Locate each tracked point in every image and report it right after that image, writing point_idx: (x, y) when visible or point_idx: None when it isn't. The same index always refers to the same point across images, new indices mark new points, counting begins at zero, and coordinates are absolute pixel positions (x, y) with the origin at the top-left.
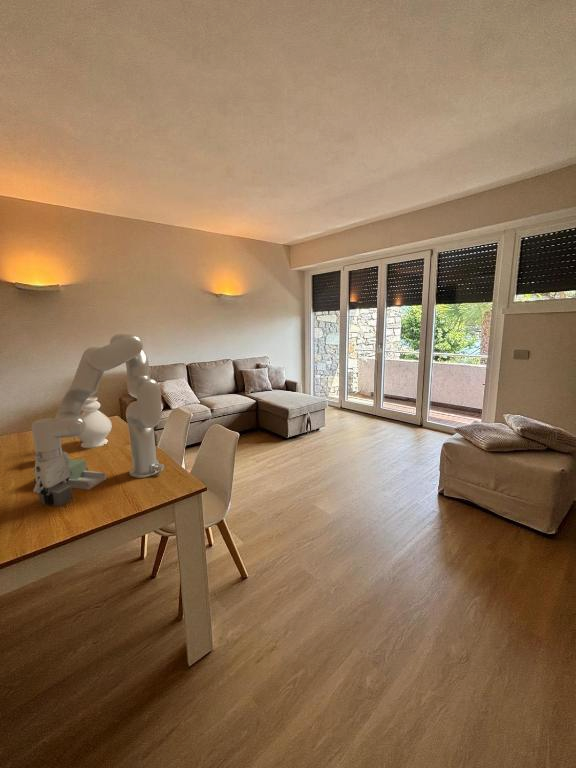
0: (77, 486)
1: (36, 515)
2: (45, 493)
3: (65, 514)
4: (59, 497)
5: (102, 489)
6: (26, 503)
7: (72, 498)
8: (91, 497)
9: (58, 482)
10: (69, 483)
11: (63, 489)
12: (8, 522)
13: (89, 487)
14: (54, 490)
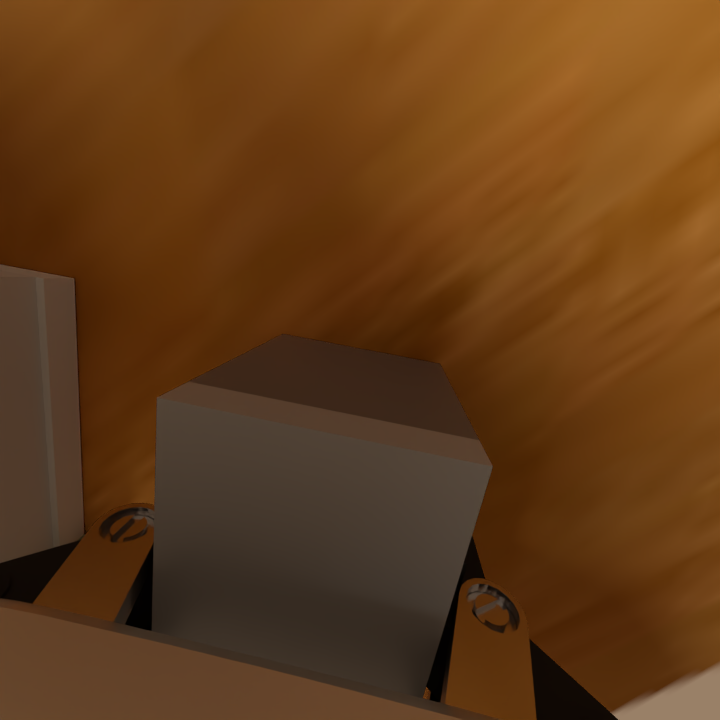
0: (59, 433)
1: (613, 498)
2: (537, 664)
3: (639, 173)
4: (460, 406)
5: (27, 93)
6: None
7: (283, 334)
8: (225, 106)
9: (315, 707)
10: (38, 543)
11: (364, 426)
12: (709, 657)
13: (40, 275)
14: (455, 571)
